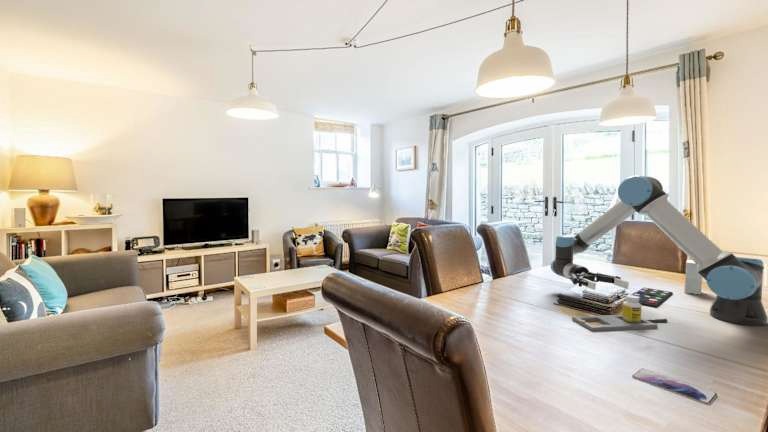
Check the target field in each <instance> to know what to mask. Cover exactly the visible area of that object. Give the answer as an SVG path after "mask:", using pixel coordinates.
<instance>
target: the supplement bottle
mask: <svg viewBox="0 0 768 432" xmlns="http://www.w3.org/2000/svg"><path fill="white" fill-rule="evenodd" d="M625 299H626V301H625V300H624V301H623V303H622V315H623V316H622V320H623V321H625V322H628V323H630V324H635V323H641V318H642V305H641V304H640V303H638V302H639V297H638V296H634V295H633V294H627V295H625Z"/></svg>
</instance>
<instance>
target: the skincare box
mask: <svg viewBox="0 0 768 432" xmlns="http://www.w3.org/2000/svg"><path fill="white" fill-rule="evenodd" d="M685 263H686V264H685V280H684V290H683V291H684V292H685V294H689V293H694V294H693V295H696V294H702V283H703V277H702V276H701V275H700V274H699V273H698V272H697V264H696V263H695V262H694V261H693V260H692V259H686V262H685ZM684 292H683V293H684Z"/></svg>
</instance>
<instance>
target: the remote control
mask: <svg viewBox="0 0 768 432" xmlns="http://www.w3.org/2000/svg"><path fill="white" fill-rule="evenodd" d="M635 293H636V295H635V296H638V297H639V302H638V303H640V304H641V306H646V307H651V308H655V309H656V308H658V307H659V306H660V305H662V304H663V303H664V302H665V301H666V300H667V299H668V298H670V297H671V296H672V295H673V291H668V290H663V289H662V290H661V289H655V288H649V287H642V288H640V289H639V290H637V291H636V292H635Z"/></svg>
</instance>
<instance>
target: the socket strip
mask: <svg viewBox="0 0 768 432" xmlns="http://www.w3.org/2000/svg"><path fill="white" fill-rule="evenodd" d="M622 316H623V314H604V315H602V314H601V315H580V316H578V315H577V316H572V317H571V320H572V321H573V322H575V323H578V324H579V325H581V326H583V327H584V328H585V329H588V330H590V331H592V332H597V331H598V332H600V331H601V332H602V331H621V330H622V331H625V330H646V329H647V330H648V329H658V327H659V326H658V324H656V323H667V322H668V319H667V318H660V319H659V318H657V319H656V318H655V319H654V318H653V319H646V318H642V317H641V323H635V324H630V323H628V322H625V321H623V320H622ZM589 322H599V323H601V324H594V325H593V324H591V323H589Z"/></svg>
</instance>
